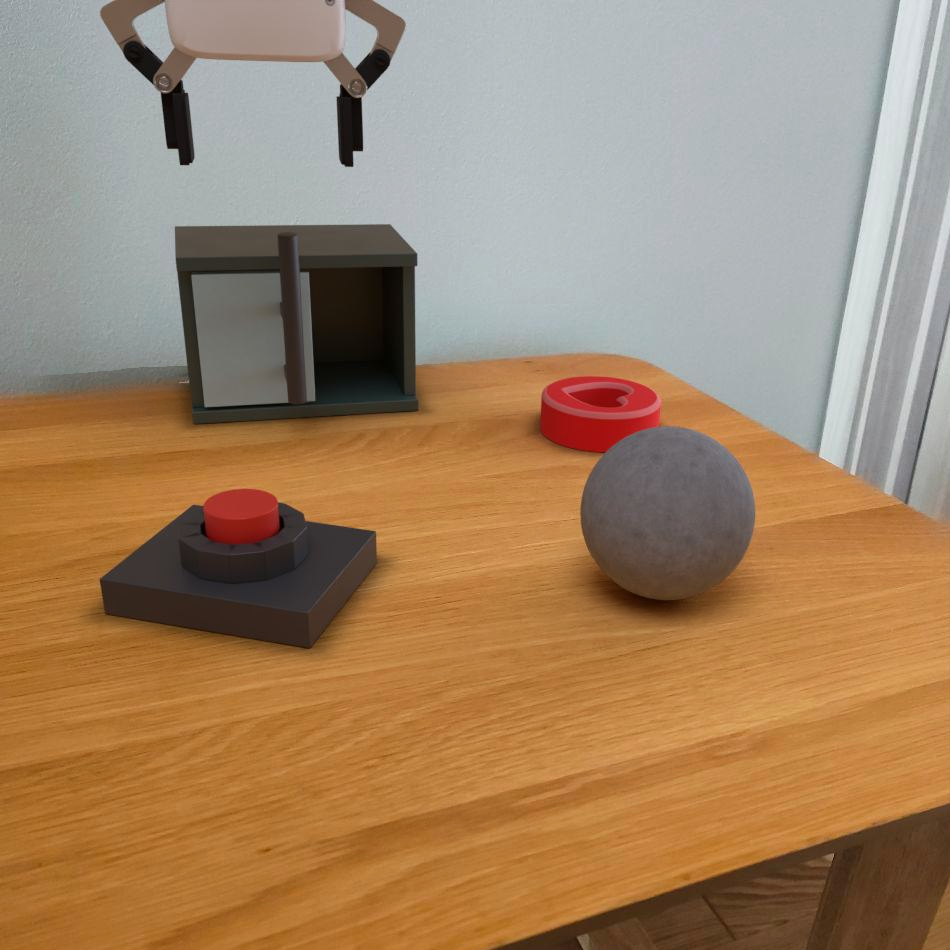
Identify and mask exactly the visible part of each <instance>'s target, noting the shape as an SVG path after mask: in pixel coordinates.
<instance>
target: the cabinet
mask: <svg viewBox="0 0 950 950" xmlns="http://www.w3.org/2000/svg"><path fill="white" fill-rule="evenodd" d="M282 232H292V233H296V234H297V235H298V250H299V268H300V271H308V272H309V287H310V306H311V325H312V344H313V364H314V383H315V401H309V402H306V403H303V404H291V403H274V404H256V405H238V406H220V407H205V406H204V396H203V386H202V376H201V367H200V357H199V347H198V337H197V327H196V318H195V308H194V298H193V288H192V278H191V274H192V273H230V272H276V271H280V268H279V252H278V237H277V235H278V234H279V233H282ZM174 251H175V252H174V253H175V254H174V255H175V257H174V258H175V266H176V268H175V269H176V273H177V274H176V275H177V282H178V283H177V284H178V291H179V302H180V313H181V318H182V319H181V320H182V321H181V322H182V330H183V338H184V348H185V356H186V366H187V367H186V368H187V375H188V385H189V386H188V387H189V394H190V403H191V414H192V422H193V425H200V424H219V423H233V422H234V423H236V422H251V421H269V420H284V419H285V420H286V419H301V418H317V417H333V416H349V415H350V416H352V415H364V414H365V415H366V414H384V413H399V412H400V413H401V412H416V411H419V399H418V397H417V369H416V368H417V364H416V363H417V361H416V359H417V358H416V357H417V356H416V354H417V353H416V348H417V347H416V343H417V342H416V339H417V338H416V267H418V264H419V263H418V253H417V252H416V250H415V249H414V248H413V247H412V246H411V245H410V244H409V243H408V242H407V241H406V240H405V239H404V237H403V236H401V234H400V233H399V232H398V231H397V230H396V229H395V228H394V226H392V224H390V223H376V224H375V223H373V224H372V223H371V224H368V223H367V224H366V223H365V224H276V225H275V224H273V225H271V224H270V225H267V224H266V225H263V224H261V225H175V226H174Z"/></svg>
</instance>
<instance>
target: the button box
mask: <svg viewBox="0 0 950 950" xmlns="http://www.w3.org/2000/svg"><path fill="white" fill-rule="evenodd" d="M278 511H279V525H280V530H279V533H278V534H277V535H276V536H273V537H270V538H268V539H265V540H262V541H259V542H256V543H246V544H235V545H233V544H226V543H219V542H213V541H212V540H210V539H208V537H207V535H206V528H205V518H204V509H203V505H200V504H192V505H191V506H189V507H188V508H187V509H186V510H185V511H183V512H182V513H181V514H179V515H178V516H176V518H174V519H173V520H172V521H171V522H169V523H168V524H167V525H165V526H164V527H163V528H161V529H160V530H159V531H158V532H157V533H156V534H153V536H152V537H150V538H149V539H148V540H146V541H145V542H144V543H143V544H141V545H140V546H139V547H138V548H136V549H135V550H134V551H133V552H132V553H130V554H129V555H128V556H126V557H125V558H124V559H123V560H122V561H120V562H119V563H118V564H116V565H115V566H113V568H111V569H110V570H109V571H108V572H106V573H105V574H104V575H102V576H101V577H100V578H99V584H100V585H99V586H100V591H101V598H102V604H103V609H104V610H103V611H104V614H105V615H109V616H117V617H123V618H127V619H128V618H130V619H135V620H141V621H146V622H152V623H158V624H163V625H164V624H165V625H171V626H174V627H175V626H176V627H181V628H188V629H195V630H198V631H199V630H200V631H206V632H211V633H218V634H223V635H229V636H235V637H239V638H240V637H241V638H246V639H247V638H248V639H254V640H259V641H264V642H265V641H266V642H271V643H276V644H283V645H289V646H294V647H300V648H307V649H311V648H312V646H313V645H314V644H315V642H316V641H318V639H319V637H320V636H321V635H322V633H323V632H324V631H325V630H326V629H327V627H328V626H329V624H330V623H331V622H332V621H333V619H335V617H336V615H337V614H339V612H340V611H341V609H342V608H343V607H344V606H345V604H347V602H348V601H349V599H350V598H351V597H352V595H353V594H354V593H355V591H357V589H358V588H359V587H360V586H361V584H362V583H363V581H364V580H365V579H366V578H367V576H368V575H369V574H370V573H371V571H372V570H373V568H375V566H376V565H377V564H378V552H377V551H378V549H377V548H378V547H377V531H376V530H370V529H363V528H357V527H351V526H343V525H336V524H329V523H322V522H316V521H309V520H306V518H305V514H304V513H303V512H302V511H300V510H298V509H296V508H294V507H293V506H291V505H288V504H287V503H284V502H279V501H278Z"/></svg>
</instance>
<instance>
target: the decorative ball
mask: <svg viewBox="0 0 950 950" xmlns="http://www.w3.org/2000/svg"><path fill="white" fill-rule="evenodd" d="M580 500H581V501H580V507H579V508H580V510H579V511H580V513H579V514H580V527H581V532H582V536H583V539H584V542H585V545H586V549H588V552H589V554H590V556H591V557H592V559H593V560H594V562H595V563H596V565H597V566H598V567H599V569H600V570H601V571H602V572H603V574H605V575H606V576H607V578H609V579H610V580H611V581H612V582H613V583H614V584H616V585H618V586H619V587H621V588H622V589H624V590H626V591H628V592H630V593H632V594H635V595H637V596H640V597H644V598H647V599H650V600H657V601H678V600H683V599H689V598H692V597H696V596H699V595H701V594H703V593H706V592H707V591H709V590H711V589H714V588H715V587H717V586H718V585H719V584H721V583H722V582H724V580H726V579H727V578H728V577H729V576H730V575H731V574H732V573H733V572H734V571H735V570H736V568H737V567H738V566H739V565H740V564H741V562H742V561H743V558H744V557H745V555H746V554H747V551H748V549H749V547H750V544H751V541H752V539H753V535H754V529H755V524H756V502H755V501H756V500H755V495H754V490H753V488H752V484H751V481H750V480H749V477H748V475H747V473H746V471H745V469H744V467H743V466H742V465H741V463H740V462H739V460H738V458H736V457H735V455H734V454H733V453H731V451H730V450H729V449H728V448H727V447H726V446H724V445H723V444H722V443H720V442H719V441H717V440H715V439H714V438H713V437H711V436H709V435H707V434H705V433H703V432H700V431H697V430H695V429H692V428H687V427H683V426H673V425H662V426H659V427H653V428H648V429H644V430H641V431H638V432H636V433H633V434H631V435H629V436H627V437H625V438H623V439H622V440H620V441H619V442H617V443H616V444H615V445H613V446H612V447H611V448H610V449H609V450H608V451H606V452H603V454H602V455H601V457H599V459H598V461H597V462H596V463H595V465H593V468H592V470H590V473H589V474H588V477H587V479H586V481H585V484H584V487H583V490H582V494H581V499H580Z"/></svg>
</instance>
